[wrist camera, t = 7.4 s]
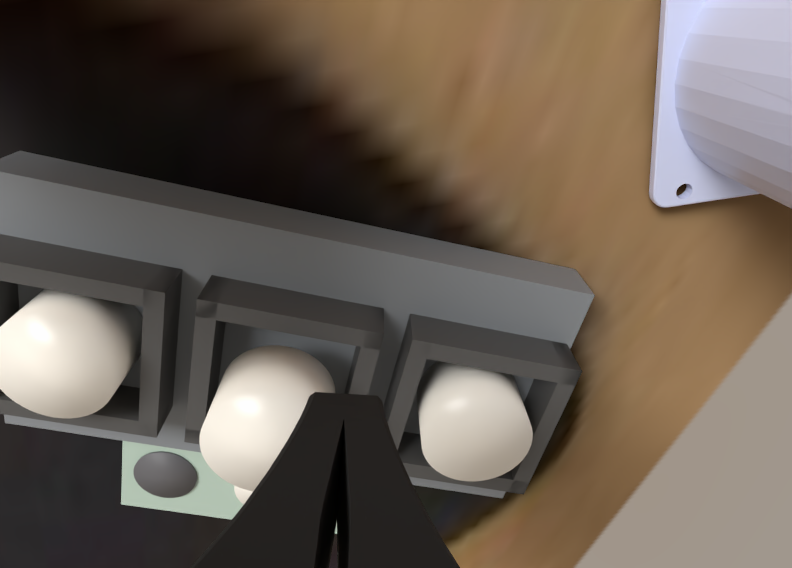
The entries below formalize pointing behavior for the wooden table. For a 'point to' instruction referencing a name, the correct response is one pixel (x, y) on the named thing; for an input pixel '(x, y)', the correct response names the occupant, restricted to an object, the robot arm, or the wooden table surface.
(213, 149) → the wooden table surface
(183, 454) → the card
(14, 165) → the board
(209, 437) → the button middle
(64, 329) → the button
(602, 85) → the wooden table surface
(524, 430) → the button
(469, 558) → the wooden table surface
